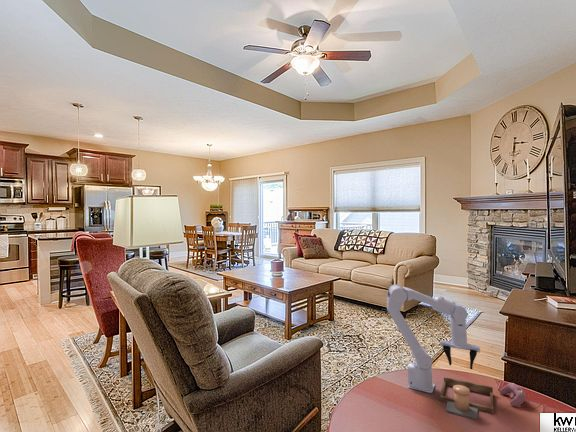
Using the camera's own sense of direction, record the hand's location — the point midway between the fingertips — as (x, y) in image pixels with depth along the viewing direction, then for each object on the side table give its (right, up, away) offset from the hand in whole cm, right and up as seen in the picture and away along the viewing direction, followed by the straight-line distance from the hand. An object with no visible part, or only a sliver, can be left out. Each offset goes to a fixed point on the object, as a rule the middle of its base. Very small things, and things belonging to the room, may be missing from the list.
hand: (460, 366), depth 129 cm
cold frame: (-1, -9, -7) cm, 11 cm away
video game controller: (+15, -9, -10) cm, 20 cm away
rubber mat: (-8, -9, -15) cm, 19 cm away
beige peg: (-8, -8, -14) cm, 18 cm away
